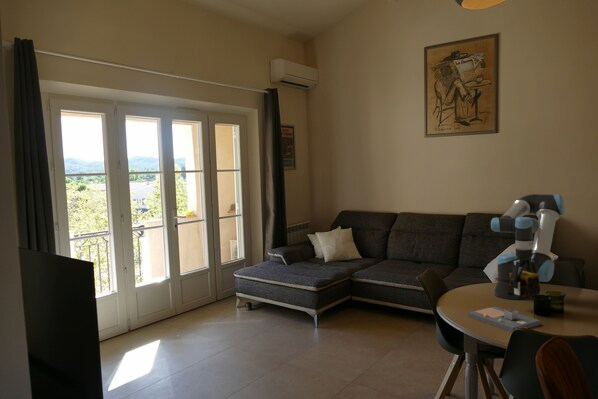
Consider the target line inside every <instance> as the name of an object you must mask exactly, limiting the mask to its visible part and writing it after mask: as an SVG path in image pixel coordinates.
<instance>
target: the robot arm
mask: <svg viewBox="0 0 598 399" xmlns="http://www.w3.org/2000/svg"><path fill="white" fill-rule="evenodd" d="M564 201H565V200H564V197H563V196H562V195H561V194H555V193H553V194H537V193H536V194H535V193H534V194H533V193H532V194H527V195H524V196H521V197H519V198H517V199H516V200H515V201H514V202H513V203H512V205H511V207H510V208H509V209H508V210H507V211H506V212H505V213H503V214H502V215H501V217H493V218H491V220H490V229H491V230H492V232H496V233H497V232H498V233H509V234H510V233H511V234H512V233H515V244H514V245H515V253H507V254H506V253H505V254H500V255H499V256H498V257H497V263H496V264H497V281H496V282H497V283H496V286H495V288H494V296H495V297H497V298H499V299H504V300H523V299H525V298H526V297H525V296H522V295H520V282H519V279H520V276H521V274H522V271H527V272H530V273H536V274H539V281H540V282H545V283H547V282H549V281H551V280H552V279H553V278H552V277H553V276H554V272H555V262H554V261H553V260H552V257H551V256H550V252H551V249H552V248H551V247H552V242H553V236H554V232H555V227H556V221H558V220H559V219H560V216H563V215H565V202H564ZM531 214H532V215H536V217H537V218H538V219H536V218H535V217H534V218H533V217H527V216H526V215H531ZM533 234H534V237H533ZM509 273H511V278H510V275H509ZM510 280H511V281H513V282H514V294H513V293H510V292H509V290H510V289H509V286H510ZM540 282H539V283H540Z"/></svg>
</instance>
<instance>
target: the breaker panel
mask: <svg viewBox="0 0 598 399" xmlns="http://www.w3.org/2000/svg"><path fill="white" fill-rule="evenodd" d="M504 310H506V309H504V308H501V307H497V306H490V307H485V308H482V309H478V310H475V311H474V310H473V311H469V312H468V317H469V318H471V319H474V320H477V321H480V322H483V323H485V324H489V325H491V326H494V327H496V328H499V329H502V330H504V331H505V330H506V331H507V332H510V333H513V332H512V331H513V330H515V329H516V328H519V327H527V329H530V328H533V327H538V326H539V325H541V322H540V321H541V320H540V319H537V318H533V317H530V316H527V315H525V314H524V315H523V314H522V313H521V314H520V313H518V318H517V319H514V320H510V319H507V318H504Z"/></svg>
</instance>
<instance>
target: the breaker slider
mask: <svg viewBox="0 0 598 399" xmlns="http://www.w3.org/2000/svg"><path fill="white" fill-rule="evenodd" d="M518 311H519V310H516V309H513V308H507V309H505V310H504V318H507V319H510V320H514V319H517V318H518V314H519V312H518Z"/></svg>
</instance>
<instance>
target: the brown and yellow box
mask: <svg viewBox="0 0 598 399" xmlns="http://www.w3.org/2000/svg"><path fill="white" fill-rule="evenodd" d="M509 275H510V278H511V273H509ZM519 282H520V295H522V296H525V298H529V297H533V296H536V295H539V294H540V292H541V283H540V281H539V274H536V273H530V272H527V271H522V274H521V276H520V279H519ZM509 289H510V290H509V292H510V293H513V294H514V282H513V281H511V280H510V286H509Z"/></svg>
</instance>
